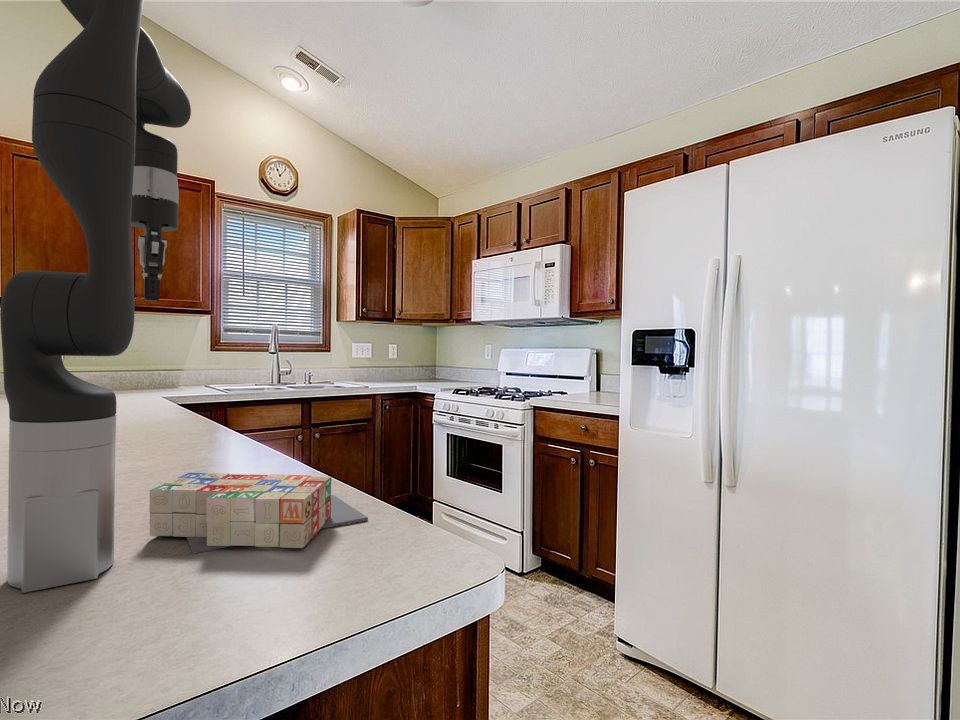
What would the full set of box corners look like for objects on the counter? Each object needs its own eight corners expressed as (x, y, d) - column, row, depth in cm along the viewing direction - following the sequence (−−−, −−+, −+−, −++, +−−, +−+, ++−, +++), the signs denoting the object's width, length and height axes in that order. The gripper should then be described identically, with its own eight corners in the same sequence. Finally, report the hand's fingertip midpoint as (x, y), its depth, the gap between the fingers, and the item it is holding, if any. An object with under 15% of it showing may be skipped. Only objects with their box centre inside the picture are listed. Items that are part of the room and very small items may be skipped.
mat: (367, 520, 77) (367, 517, 77) (193, 553, 63) (193, 549, 63) (333, 497, 88) (333, 495, 88) (179, 521, 74) (179, 518, 74)
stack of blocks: (188, 513, 76) (132, 544, 64) (188, 471, 76) (132, 495, 64) (332, 517, 76) (303, 549, 64) (332, 475, 76) (304, 499, 64)
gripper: (125, 203, 91) (123, 301, 91) (128, 185, 81) (126, 296, 81) (174, 211, 96) (172, 304, 96) (183, 195, 85) (181, 300, 85)
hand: (151, 300), depth 88 cm, fingers closed
